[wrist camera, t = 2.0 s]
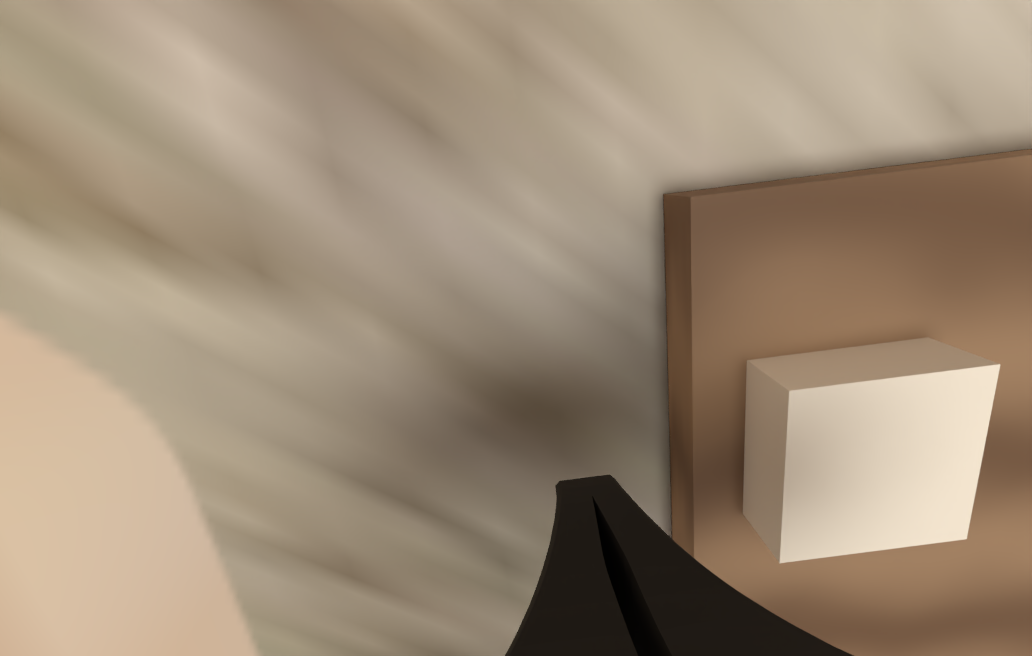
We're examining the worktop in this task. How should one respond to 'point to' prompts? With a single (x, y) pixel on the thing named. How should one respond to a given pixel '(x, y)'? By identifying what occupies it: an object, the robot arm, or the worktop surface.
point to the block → (864, 447)
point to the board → (849, 323)
